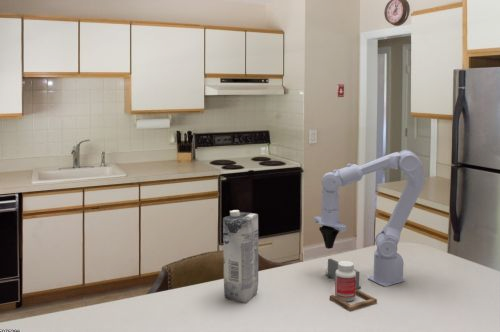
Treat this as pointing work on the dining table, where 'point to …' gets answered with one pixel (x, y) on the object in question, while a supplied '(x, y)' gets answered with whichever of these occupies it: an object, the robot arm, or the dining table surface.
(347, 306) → the walnut bracket
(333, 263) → the slate screen
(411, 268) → the dining table surface
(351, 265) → the pill bottle
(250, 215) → the juice carton
